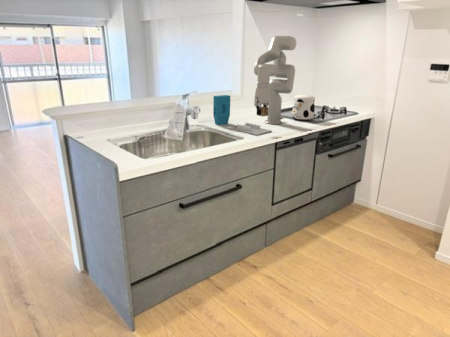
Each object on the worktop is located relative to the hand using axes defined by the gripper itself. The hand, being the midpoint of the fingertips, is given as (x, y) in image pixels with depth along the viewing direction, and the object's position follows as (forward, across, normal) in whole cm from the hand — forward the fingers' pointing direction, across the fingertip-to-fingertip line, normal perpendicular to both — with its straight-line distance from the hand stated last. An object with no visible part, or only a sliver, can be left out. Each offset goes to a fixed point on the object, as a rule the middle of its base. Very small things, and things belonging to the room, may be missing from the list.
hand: (261, 114), depth 216 cm
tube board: (+12, +1, -8) cm, 15 cm away
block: (+13, +2, -35) cm, 37 cm away
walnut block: (+1, 0, +1) cm, 1 cm away
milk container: (+14, -59, -6) cm, 61 cm away
